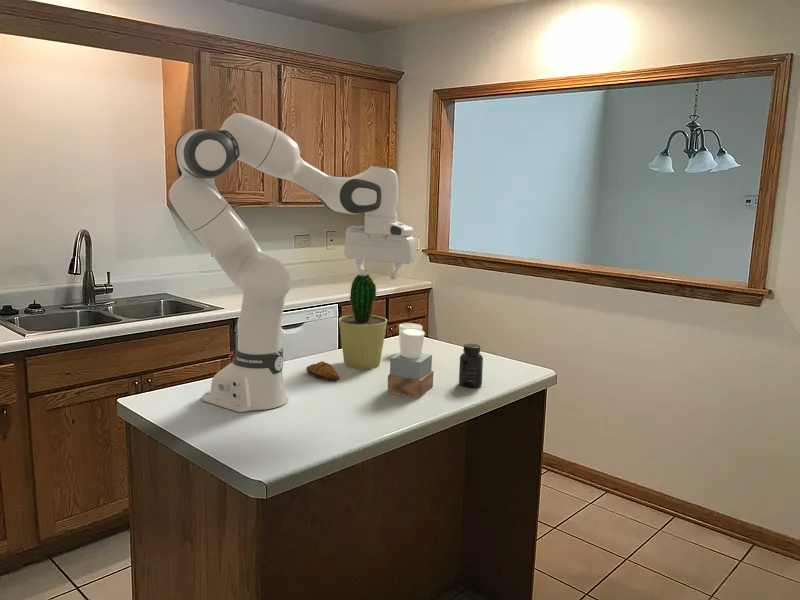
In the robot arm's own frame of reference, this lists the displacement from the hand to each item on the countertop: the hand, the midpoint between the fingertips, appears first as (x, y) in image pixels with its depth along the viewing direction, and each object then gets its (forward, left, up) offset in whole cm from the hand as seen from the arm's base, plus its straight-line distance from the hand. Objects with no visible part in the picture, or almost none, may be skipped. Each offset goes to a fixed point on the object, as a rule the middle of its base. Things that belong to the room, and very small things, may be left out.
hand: (378, 277), depth 180 cm
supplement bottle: (+24, +16, -32) cm, 43 cm away
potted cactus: (-13, +20, -32) cm, 40 cm away
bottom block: (+9, +4, -32) cm, 34 cm away
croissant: (-18, +2, -32) cm, 37 cm away
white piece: (+9, +4, -22) cm, 24 cm away
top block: (+9, +4, -27) cm, 29 cm away
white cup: (-4, +39, -32) cm, 51 cm away
